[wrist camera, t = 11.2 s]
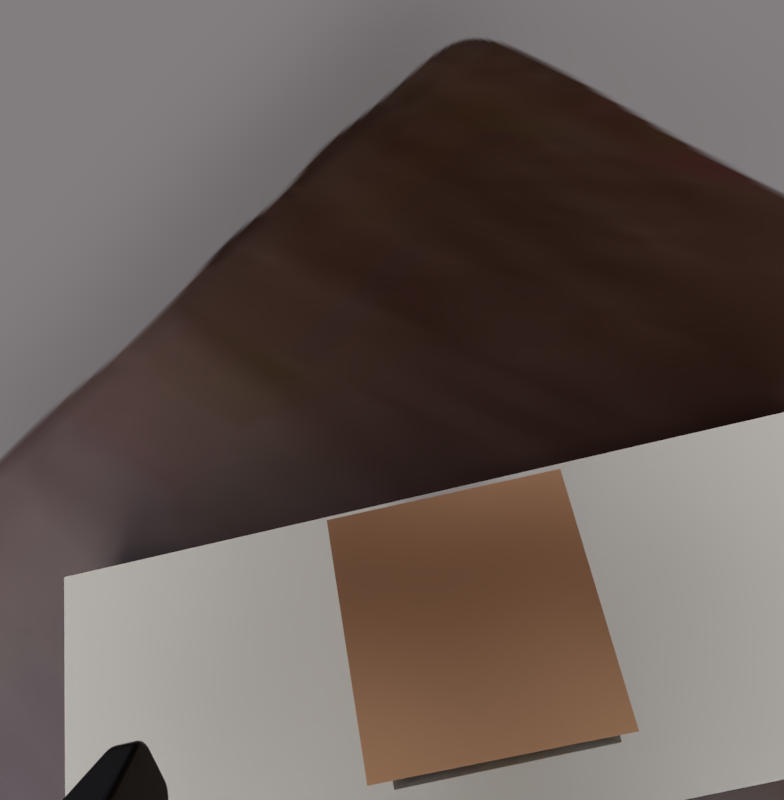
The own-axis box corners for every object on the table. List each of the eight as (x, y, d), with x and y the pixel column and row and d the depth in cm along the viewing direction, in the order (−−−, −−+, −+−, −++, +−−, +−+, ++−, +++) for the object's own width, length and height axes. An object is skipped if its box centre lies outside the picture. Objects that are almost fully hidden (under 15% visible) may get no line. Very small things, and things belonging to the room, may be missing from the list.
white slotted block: (936, 726, 19) (1010, 732, 17) (122, 893, 20) (65, 926, 18) (799, 432, 23) (841, 398, 20) (113, 589, 24) (64, 577, 21)
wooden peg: (561, 705, 21) (638, 731, 10) (432, 731, 21) (367, 786, 10) (526, 573, 22) (560, 468, 11) (406, 599, 23) (326, 520, 12)
